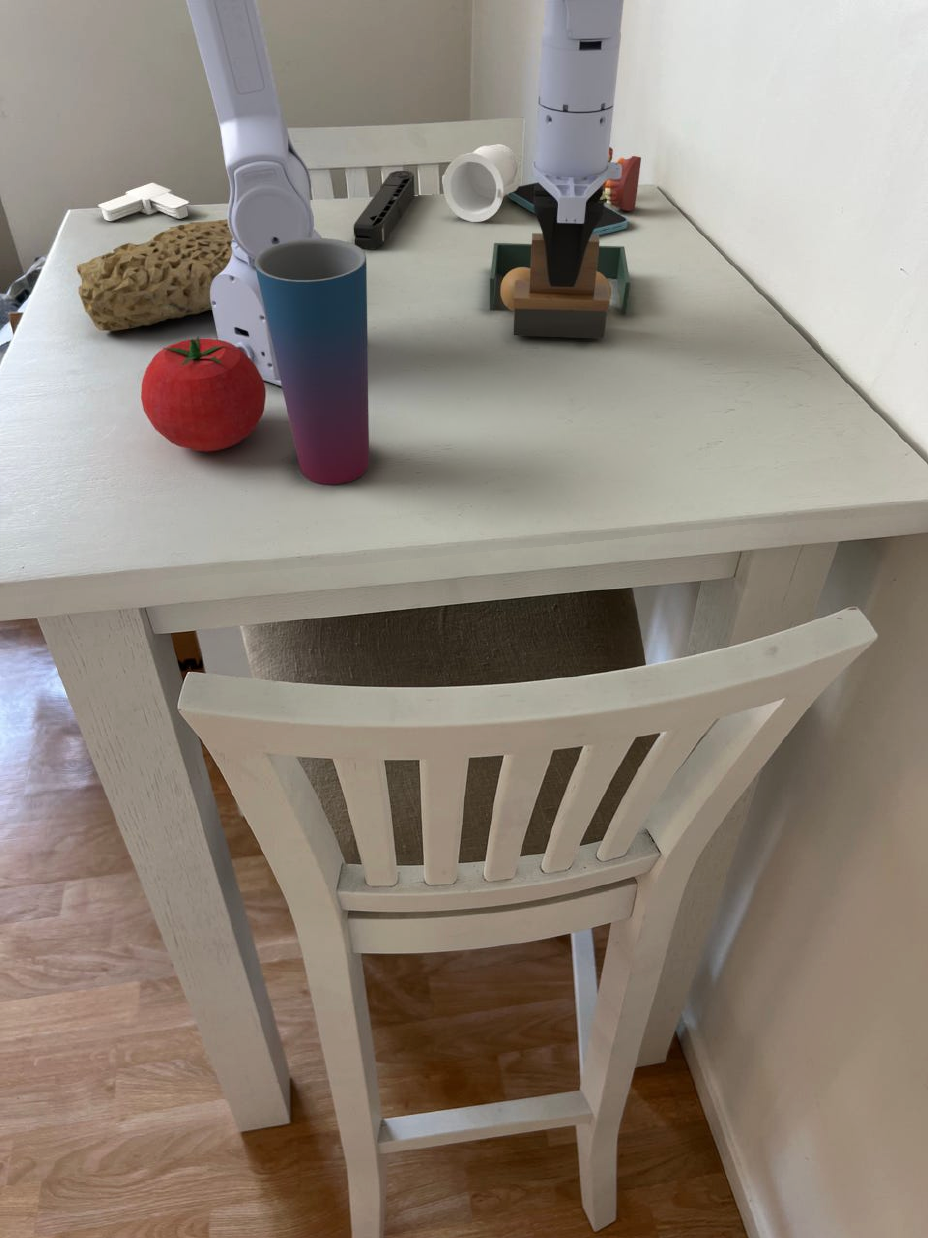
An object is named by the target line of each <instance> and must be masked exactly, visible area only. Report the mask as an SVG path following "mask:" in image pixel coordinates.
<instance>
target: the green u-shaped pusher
mask: <svg viewBox="0 0 928 1238" xmlns="http://www.w3.org/2000/svg"><path fill="white" fill-rule="evenodd" d="M531 247H532V243H513V242H512V243H511V242H508V243H507V242H494V243H493V250H492V258H491V266H490V275H489V310H490V311H494V309H495V300H496V299H495V298H496V289H497V282H498V281H497V280H498V275H502V276H503V275H505V276H506V274H507V273H508V272H510V271H511V270H513V269H515V268H519V267H526V268H530V266H531ZM597 271H598V272H600V273H601V274H603V275H604V276H605V277H606V278H607V279H609V278H610V279H616V282H617V288H618V295H619V303H620V309H621V314H622V315H626V314H627V310H628V303H629V302H628V301H629V295H630V288H631V278H630V273H629V267H628V262H627V255H626V249H625V246H623V245H619V246H618V245H599V253H598V262H597Z"/></svg>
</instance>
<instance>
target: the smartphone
mask: <svg viewBox="0 0 928 1238" xmlns="http://www.w3.org/2000/svg"><path fill="white" fill-rule="evenodd" d="M537 183H538V182H537V181H536V182H533V183H528V184H522V185H518V188H517V190H516V191H514V192H511V193H508V198H509V199H510V200H511V201H513V202H515V203H516V204H518V205H519V206H521V207H523V208H525V209H526V210H528V211H530V212H531V213H533V214H534V215H535V212H534V196H535V194H534V186H535V184H537ZM604 208H605V209H604V213H603V215H602V217H601V219H600V221H599V222H598V224H597V225H596V227H595V229H594V231H593V232H592V234H591V235H599V236H603V235H606V234H607V235H608V234H610V233H615V232H619V231H622V230H625V229H627V227H628V223H629V222H628V221H629V219H628V218H627V217H626V216H624V215H623V214H621V213H619V212H617V211H616V210H613V209H612V208H610V207H608V206H606V205H605V204H604Z"/></svg>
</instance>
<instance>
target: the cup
mask: <svg viewBox="0 0 928 1238" xmlns="http://www.w3.org/2000/svg"><path fill="white" fill-rule="evenodd" d="M367 266H368V265H367V255H366V252H365V251H364V250H363V248H359V247H358V246H356V245H355V243H352V242H349V241H345V240H342V239H334V238H328V237H327V238H326V237H322V238H306V239H297V240H291V241H286V242H282V243H279V244H276V245H273V246H271V247H269V248H267V249H265V250H264V251H262V252H261V253H260V254H259V255H258V256H257V257H256V259H255V268H256V273H257V277H258V282H259V286H260V291H261V295H262V300H263V304H264V309H265V313H266V318H267V322H268V326H269V331H270V335H271V340H272V344H273V349H274V353H275V358H276V362H277V367H278V371H279V376H280V380H281V385H282V386H281V389H282V393H283V398H284V402H285V407H286V411H287V414H288V420H289V425H290V430H291V435H292V439H293V442H294V447H295V452H296V456H297V461H298V465H299V470H300V472H301V474H302V475H303V476H304V477H305V479H308V480H309V481H312V482H314V483H316V484H321V485H341V484H347V483H350V482H352V481H355V480H357V479H359V478H360V477H361V476H363V475H364V474H365V473H366V472H367V470H368V469H369V468H370V467H369V466H370V428H369V427H370V425H369V423H370V422H369V418H370V417H369V416H370V415H369V366H368V365H369V351H368V347H369V345H368V342H369V341H368V286H367V285H368V282H367V281H368V279H367V278H368V277H367V275H368V272H367V269H368V268H367Z"/></svg>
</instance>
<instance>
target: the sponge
mask: <svg viewBox="0 0 928 1238" xmlns="http://www.w3.org/2000/svg"><path fill="white" fill-rule="evenodd" d="M169 228H170V229H166V230H165V231H162V232H160V233H157V234H155V235H154V237H152V238H151V239H150V240H148V241H146V242H144V243H140V244H135V243H131V242H127V243H125V244H121V245H119V246H117V247H116V248H114V249H112V251H113V252H111V251H110V252H107V253H105V254H102V255H99V256H97V257H93V258H91V260H89V261H87V262H83V263H80V264H77V265H76V271H77V274H78V275H79V277H80V279H81V284H80V286H78V295H79V297H80V300H81V302H82V305H83V307H84V311H85V313H86V314H88V317H90V319H91V321H92V323H93V324H94V326H95V328H97V329H98V330H100V331H104V332H107V331H111V332H117V331H122V330H128V329H134V328H141V327H142V326H151V325H154V324H157V323H159V322H163V321H164V322H165V321H166V320H167V319H173V320H175V318H176V319H178V318H179V319H181V318H183V317H185V316H188V315H199V314H201V313H203V312H208V311H211V310H212V306H211V301H210V288H211V284H212V281H213V279H214V278H215V277H216V276H217V275H218V274H220V273H221V272H222V271H223V270H224V269H225V268H226V267H227V265H228V263H229V262H230V259H231V256H232V247H231V244H232V239H233V237H232V235H231V233H230V230H229V226H228V220H227V218H225V219H218V220H211V221H198V222H197V221H196V222H195V221H194V222H188V223H186V224H179V225H175V226H171V227H169Z"/></svg>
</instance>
